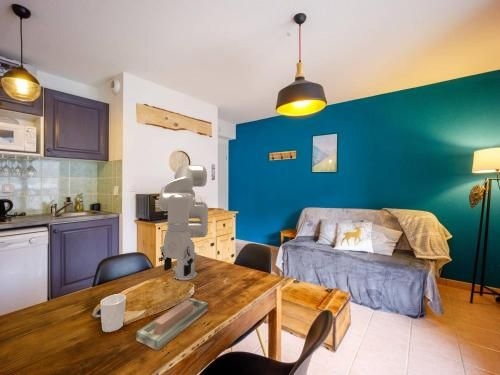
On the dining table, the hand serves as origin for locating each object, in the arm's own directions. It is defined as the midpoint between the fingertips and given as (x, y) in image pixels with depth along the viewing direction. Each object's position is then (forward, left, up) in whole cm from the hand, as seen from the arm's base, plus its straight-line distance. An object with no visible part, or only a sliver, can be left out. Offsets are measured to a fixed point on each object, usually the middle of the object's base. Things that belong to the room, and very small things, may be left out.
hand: (177, 272), depth 84 cm
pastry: (-31, -8, -20) cm, 38 cm away
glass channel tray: (0, 0, -19) cm, 19 cm away
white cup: (-19, -12, -20) cm, 30 cm away
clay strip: (0, -1, -18) cm, 18 cm away
